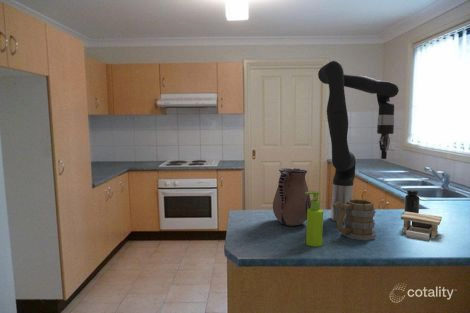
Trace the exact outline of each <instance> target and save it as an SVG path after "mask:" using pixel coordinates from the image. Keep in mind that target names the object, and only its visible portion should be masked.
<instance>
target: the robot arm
mask: <svg viewBox="0 0 470 313" xmlns="http://www.w3.org/2000/svg"><path fill="white" fill-rule="evenodd" d="M317 72H318V73H317V78H318V79H319V80H318V81H320V82H321V83H322V84H326V85H328V88H329V95H328V100H327V104H326V105H327V106H326V119H327V123H328V124H327V125H328V130H329V137H330V143H331V163H332V165H333V167H334V169H335V170H334V171H335V172H334V176H333V179H332V198H331V199H330V200H331V202H330V219H331V220H332V221H333V222H337V219H338V216H339V212H340V207H337V208H336V209H335V208H334V207H333V204H334V203H336V202H337V201H338V202H340V203H342V204H344V205H346V204H347V200H352V199H354V198H353V197H354V195H353V194H354V181H355V177H356V157H355V155H354V153H353V152H351V151H350V150H349V144H348V132H349V115H348V108H347V102H346V101H347V99H346V94H345V88H348V89H349V88H351V89H355V90H358V91H361V92H365V93H367V94H371V95H373V94H376V100H377V104H378V115H377V125H376V126H377V127H376V128H377V130H376V133H377V134H379V135H380V137H379V141H378V143H379V150H380V152H381V153H380V154H381V155H380V156H381V157H380V158H381V160H386V159H387V155H388V151H389V147H390V142H391V140H390V139H391V138H390V135H394V130H395V105H394V103H392V102H391V100H390V99H391V98H395V97H396V96H397V95H398V94H399V87H398V85H397V84H396V83H395V82H391V81H387V80H379V79H375V78H372V77H369V76H365V75H360V74H359V75H356V74H347V73H344V68H343V64H341V62H339V61H337V60H332V61H329V62H328V63H326V64H325V65H322V67H320V69H319V70H318V71H317ZM345 217H346V213H345V216H344V219H345ZM344 219H343V222H342V223H344Z"/></svg>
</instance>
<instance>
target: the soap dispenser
mask: <svg viewBox="0 0 470 313" xmlns="http://www.w3.org/2000/svg"><path fill="white" fill-rule="evenodd" d="M305 194H307V195H308V194H309V195H312V197H313V198H312V200H311V208H309V209H307V220H306V230H305V232H306V233H305V234H306V235H305V236H306V238H305V239H306V240H305V244H306V245H307V246H311V247H316V248H317V247H321V246H323V227H324V209H322V208H321V200H319V195H321V192H319V191H312V190H311V191H309V192H305Z"/></svg>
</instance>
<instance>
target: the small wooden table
mask: <svg viewBox="0 0 470 313" xmlns="http://www.w3.org/2000/svg"><path fill="white" fill-rule="evenodd" d="M400 220H403V227H402V228H403V229H402V232H403V233H405V234H406V230H407V231H408V229H409V227H410V225H412V226H413V227H419V228H425V229H430V228H431V234H430V238H431V237H432V239H435V238H436V236H437V233H438V229H439V228H438V227H439V226H440V224H441V222H442V220H443V216H439V215H432V214H426V213H425V214H424V213H420V212H419V213H412V212H404V213H403V214H402V215H401V216H400Z"/></svg>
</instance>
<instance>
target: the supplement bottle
mask: <svg viewBox="0 0 470 313" xmlns="http://www.w3.org/2000/svg"><path fill="white" fill-rule="evenodd" d="M418 192H419V191H418V190H415V189H407V190H406V195H405V196H404V211H405V212H412V213H419V214H420V196H419V195H418V194H419V193H418Z"/></svg>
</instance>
